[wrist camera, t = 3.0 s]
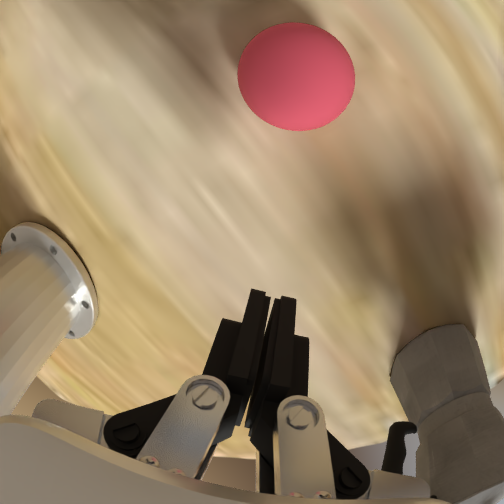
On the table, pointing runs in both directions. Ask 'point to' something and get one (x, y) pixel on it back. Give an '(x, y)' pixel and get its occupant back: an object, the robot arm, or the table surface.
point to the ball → (296, 76)
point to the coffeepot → (448, 418)
